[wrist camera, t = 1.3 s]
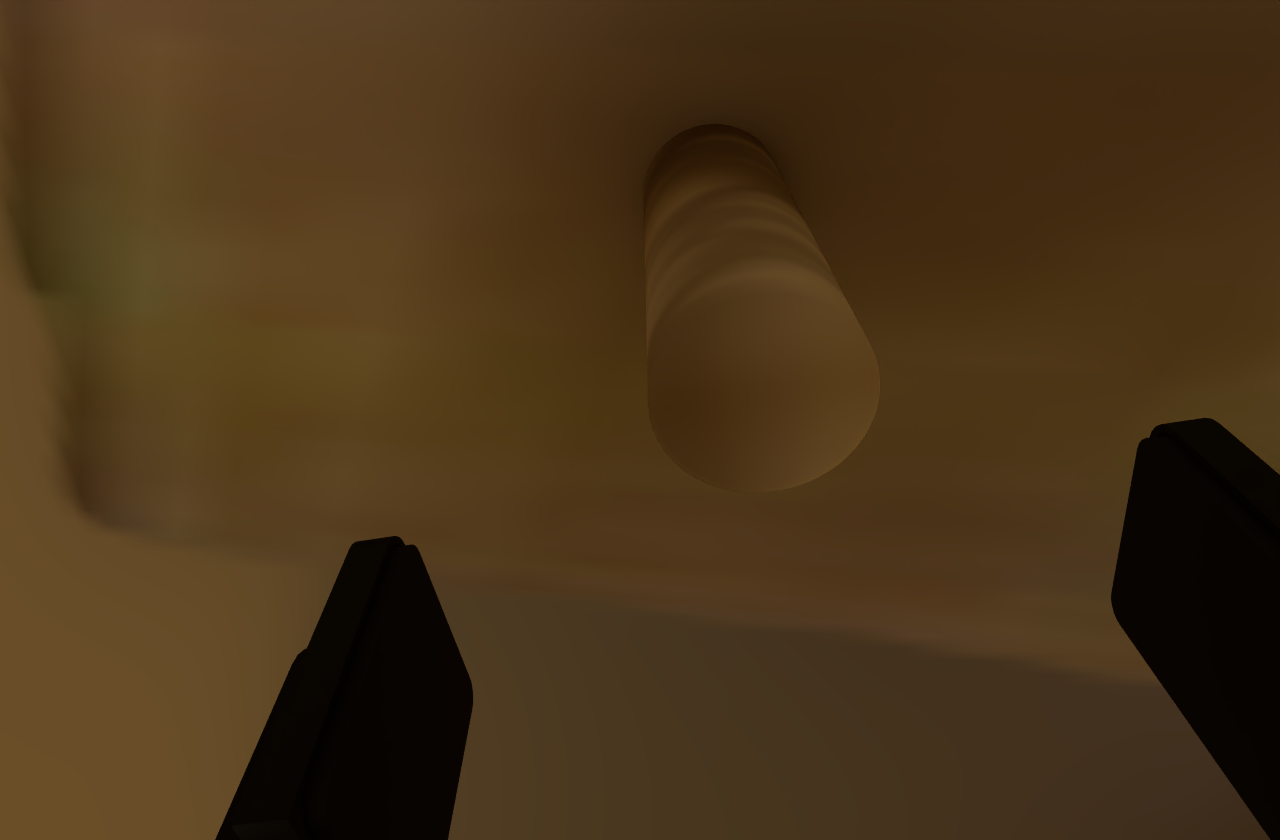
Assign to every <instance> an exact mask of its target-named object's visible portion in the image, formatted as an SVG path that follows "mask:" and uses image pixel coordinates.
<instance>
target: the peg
mask: <svg viewBox="0 0 1280 840" xmlns="http://www.w3.org/2000/svg"><path fill="white" fill-rule="evenodd" d="M644 231H645V278H646V325H647V372H648V407H649V416H650V420H651V424H652V427H653V430H654V432H655V435H656V437H657V439H658V441H659V443H660V444H661V446H662V448H663V449H664V451H665V452H666V453H667V454H668V456H669V457H670V458H671V459H672V460H673V461H674V462H675V463H676V464H677V465H678V466H679V467H680V468H682V469H683V470H684V471H686V472H687V473H689V474H690V475H692V476H693V477H695V478H697V479H699V480H701V481H703V482H705V483H707V484H710V485H712V486H715V487H718V488H722V489H726V490H730V491H737V492H744V493H764V492H774V491H780V490H785V489H789V488H793V487H796V486H799V485H802V484H805V483H807V482H809V481H812V480H814V479H816V478H818V477H820V476H822V475H824V474H825V473H827V472H829V471H830V470H831V469H833V468H834V467H836V466H837V465H839V464H840V463H841V462H842V461H843V460H844V459H845V458H847V457H848V456H849V455H850V454H851V453H852V452H853V450H854V449H855V448H856V447H857V446H858V445H859V443H860V442H861V441H862V439H863V438H864V436H865V435H866V433H867V432H868V430H869V428H870V426H871V424H872V422H873V419H874V417H875V414H876V411H877V408H878V403H879V398H880V387H881V381H880V371H879V367H878V363H877V359H876V356H875V354H874V351H873V349H872V347H871V345H870V343H869V341H868V339H867V337H866V335H865V333H864V331H863V329H862V328H861V326H860V324H859V322H858V320H857V318H856V316H855V314H854V312H853V311H852V309H851V307H850V305H849V303H848V301H847V299H846V297H845V296H844V294H843V292H842V290H841V288H840V286H839V284H838V282H837V280H836V279H835V277H834V275H833V273H832V271H831V269H830V267H829V265H828V263H827V262H826V260H825V258H824V256H823V254H822V252H821V250H820V248H819V247H818V245H817V243H816V241H815V239H814V237H813V235H812V233H811V231H810V230H809V228H808V226H807V224H806V222H805V220H804V218H803V216H802V214H801V213H800V211H799V209H798V207H797V205H796V203H795V201H794V199H793V197H792V196H791V194H790V192H789V190H788V188H787V186H786V184H785V182H784V181H783V179H782V177H781V175H780V173H779V171H778V169H777V167H776V165H775V164H774V162H773V160H772V158H771V156H770V155H769V153H768V152H767V150H766V149H765V148H764V146H763V145H762V144H761V143H760V142H759V141H758V140H756V139H755V138H754V137H753V136H751V135H750V134H748V133H747V132H744V131H742V130H740V129H738V128H735V127H732V126H727V125H720V124H710V125H702V126H697V127H693V128H691V129H688V130H686V131H684V132H682V133H680V134H678V135H677V136H675V137H674V138H672V139H671V140H670V141H669V142H667V143H666V144H665V145H664V146H663V147H662V148H661V150H660V151H659V152H658V153H657V155H656V156H655V158H654V160H653V161H652V163H651V165H650V167H649V170H648V173H647V176H646V179H645V185H644Z"/></svg>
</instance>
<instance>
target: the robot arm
mask: <svg viewBox="0 0 1280 840" xmlns="http://www.w3.org/2000/svg"><path fill="white" fill-rule="evenodd" d="M1111 602H1112V607H1113V611H1114V614H1115V616H1116V619H1117V621H1118V622H1119V624H1120V626H1121V627H1122V628H1123V630H1124V631H1125V633H1126V634H1127V636H1128V637H1129V638H1130V640H1131V641H1132V643H1133V644H1134V646H1135V647H1136V648H1137V650H1138V651H1139V653H1140V654H1141V656H1142V657H1143V658H1144V660H1145V661H1146V663H1147V664H1148V666H1149V667H1150V668H1151V670H1152V671H1153V673H1154V674H1155V676H1156V677H1157V678H1158V680H1159V681H1160V683H1161V684H1162V686H1163V687H1164V688H1165V690H1166V691H1167V693H1168V694H1169V695H1170V697H1171V698H1172V700H1173V701H1174V703H1175V704H1176V705H1177V707H1178V708H1179V710H1180V711H1181V713H1182V714H1183V715H1184V717H1185V718H1186V720H1187V721H1188V723H1189V724H1190V725H1191V727H1192V728H1193V730H1194V731H1195V733H1196V734H1197V735H1198V737H1199V738H1200V740H1201V741H1202V742H1203V744H1204V745H1205V747H1206V748H1207V750H1208V751H1209V753H1210V754H1211V755H1212V757H1213V758H1214V760H1215V761H1216V763H1217V764H1218V765H1219V767H1220V768H1221V770H1222V771H1223V773H1224V774H1225V775H1226V777H1227V778H1228V780H1229V781H1230V783H1231V784H1232V785H1233V787H1234V788H1235V789H1236V791H1237V792H1238V794H1239V795H1240V797H1241V798H1242V800H1243V801H1244V802H1245V804H1246V805H1247V807H1248V808H1249V810H1250V811H1251V812H1252V814H1253V815H1254V816H1255V818H1256V819H1257V821H1258V822H1259V824H1260V825H1261V827H1262V828H1263V830H1264V831H1265V832H1266V834H1267V835H1268V837H1269V838H1270V840H1280V475H1279V474H1278V473H1277V472H1276V471H1274V470H1273V469H1272V468H1271V467H1270V466H1269V465H1267V464H1266V463H1265V462H1264V461H1263V460H1262V459H1260V458H1259V457H1258V456H1257V455H1256V454H1255V453H1253V452H1252V451H1251V450H1250V449H1249V448H1248V447H1246V446H1245V445H1244V444H1243V443H1242V442H1240V441H1239V440H1238V439H1237V438H1236V437H1235V436H1233V435H1232V434H1231V433H1230V432H1229V431H1228V430H1226V429H1225V428H1224V427H1223V426H1222V425H1221V424H1219V423H1218V422H1216V421H1215V420H1213V419H1210V418H1201V419H1194V420H1187V421H1180V422H1173V423H1167V424H1161V425H1158V426H1156V427H1155V428H1154V429H1153V431H1152V432H1151V435H1150V438H1145V439H1143V440H1141V442H1140V443H1139V445H1138V448H1137V453H1136V459H1135V464H1134V470H1133V476H1132V481H1131V487H1130V492H1129V498H1128V503H1127V509H1126V514H1125V520H1124V526H1123V531H1122V537H1121V542H1120V548H1119V553H1118V559H1117V565H1116V570H1115V576H1114V581H1113V587H1112V592H1111ZM472 707H473V690H472V683H471V680H470V677H469V674H468V672H467V669H466V667H465V665H464V662H463V660H462V657H461V654H460V652H459V649H458V647H457V645H456V642H455V639H454V637H453V634H452V632H451V630H450V627H449V624H448V622H447V620H446V617H445V615H444V612H443V610H442V607H441V605H440V602H439V600H438V597H437V595H436V592H435V590H434V587H433V585H432V582H431V580H430V577H429V575H428V572H427V570H426V567H425V565H424V562H423V560H422V557H421V555H420V552H419V550H418V548H417V547H416V546H415V545H405V544H404V542H403V540H402V539H401V538H400V537H397V536H392V537H385V538H378V539H371V540H364V541H357V542H355V543H353V544H352V546H351V547H350V549H349V551H348V553H347V556H346V558H345V560H344V563H343V565H342V567H341V570H340V572H339V574H338V577H337V579H336V581H335V584H334V586H333V589H332V591H331V593H330V596H329V598H328V600H327V603H326V605H325V607H324V610H323V612H322V614H321V617H320V619H319V621H318V624H317V626H316V628H315V631H314V633H313V635H312V638H311V640H310V642H309V645H308V647H307V649H305V650H303V651H302V652H301V653H299V654H298V655H297V657H296V659H295V660H294V662H293V664H292V666H291V668H290V671H289V673H288V675H287V677H286V680H285V682H284V684H283V687H282V689H281V691H280V693H279V695H278V698H277V700H276V702H275V705H274V707H273V709H272V712H271V714H270V716H269V719H268V721H267V723H266V725H265V727H264V730H263V732H262V734H261V736H260V739H259V741H258V743H257V746H256V748H255V750H254V753H253V755H252V757H251V759H250V762H249V764H248V766H247V768H246V771H245V773H244V776H243V778H242V780H241V782H240V784H239V787H238V789H237V791H236V794H235V796H234V798H233V801H232V803H231V805H230V807H229V810H228V812H227V814H226V817H225V819H224V821H223V824H222V826H221V828H220V830H219V832H218V835H217V837H216V839H215V840H448V836H449V831H450V825H451V820H452V814H453V809H454V804H455V798H456V793H457V788H458V782H459V777H460V772H461V766H462V761H463V755H464V750H465V745H466V740H467V734H468V729H469V724H470V718H471V713H472Z"/></svg>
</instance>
